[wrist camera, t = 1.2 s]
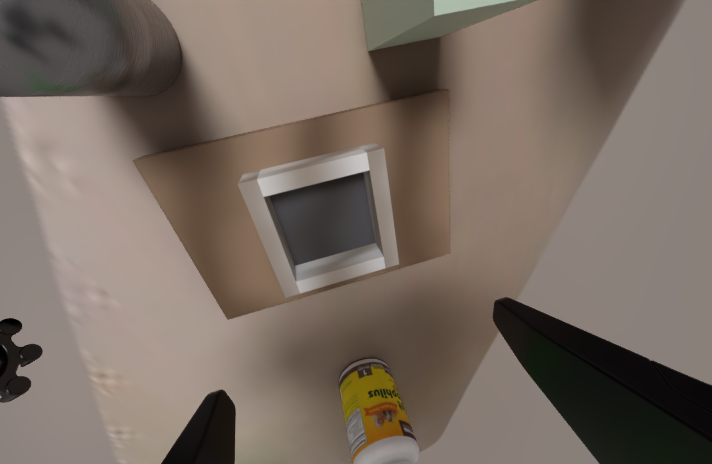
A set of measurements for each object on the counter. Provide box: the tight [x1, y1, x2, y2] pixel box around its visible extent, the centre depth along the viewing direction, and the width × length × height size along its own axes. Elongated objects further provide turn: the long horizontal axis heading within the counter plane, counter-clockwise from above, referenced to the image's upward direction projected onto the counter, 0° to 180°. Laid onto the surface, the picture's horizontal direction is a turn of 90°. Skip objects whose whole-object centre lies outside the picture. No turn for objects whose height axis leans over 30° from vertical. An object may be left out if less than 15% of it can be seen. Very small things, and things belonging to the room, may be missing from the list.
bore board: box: [133, 89, 451, 319], centre depth 18 cm, size 18×12×3 cm, turn 101°
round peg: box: [0, 0, 182, 97], centre depth 9 cm, size 4×4×8 cm
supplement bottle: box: [339, 359, 419, 464], centre depth 24 cm, size 6×6×10 cm
